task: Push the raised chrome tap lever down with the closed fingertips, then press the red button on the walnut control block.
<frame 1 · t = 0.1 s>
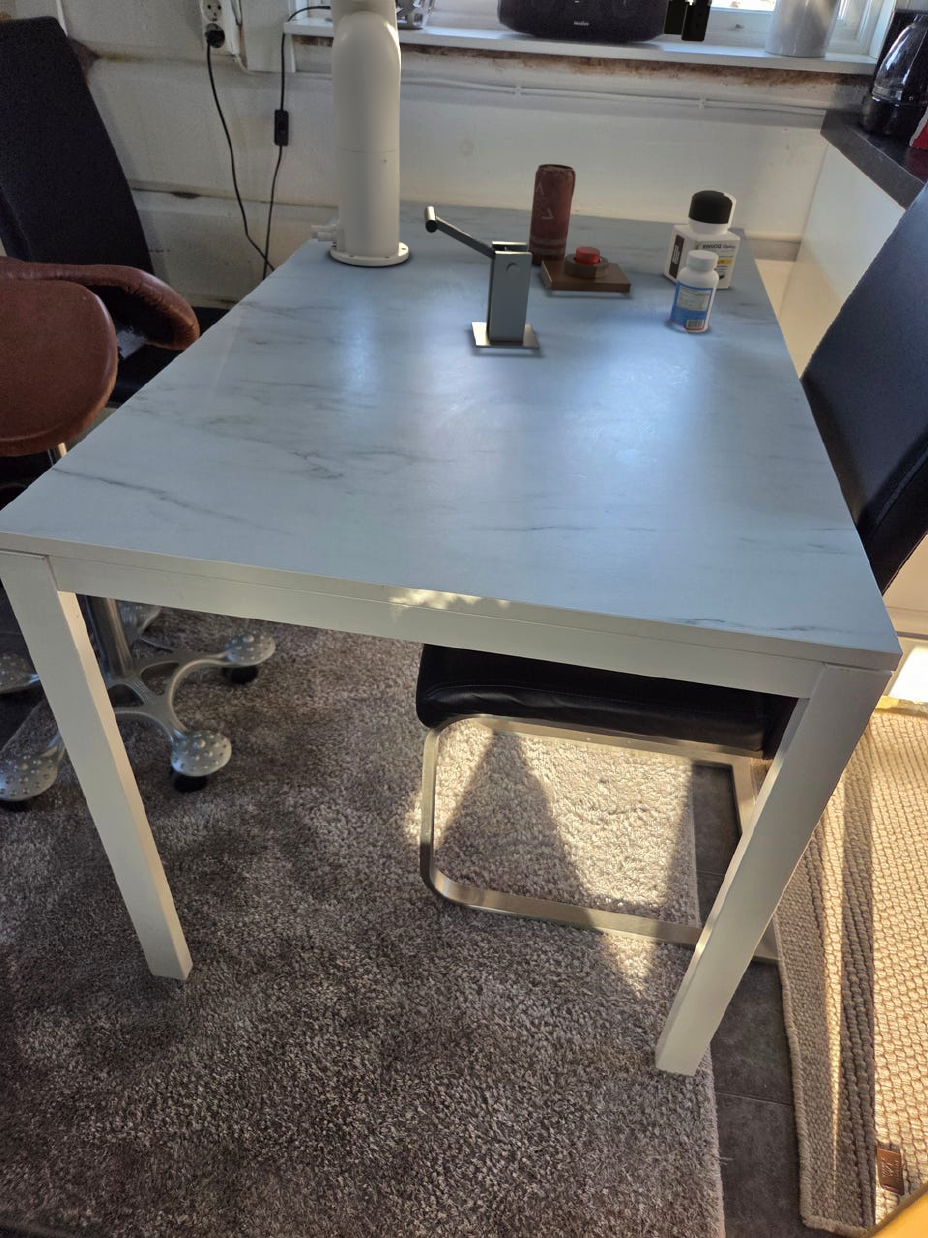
hand: (682, 37, 118), 31 cm above the table, tool pointing down, fingers open, 9 cm apart
container: (695, 283, 133), on the table
tap lever: (473, 243, 100), point 12 cm above the table, hinge at 25.0°
pill bottle: (687, 327, 117), on the table
button block: (583, 286, 128), on the table
button: (587, 255, 125), point 4 cm above the table, slide at 0.1 cm
grey lever stand: (503, 343, 108), on the table
can: (546, 262, 137), on the table
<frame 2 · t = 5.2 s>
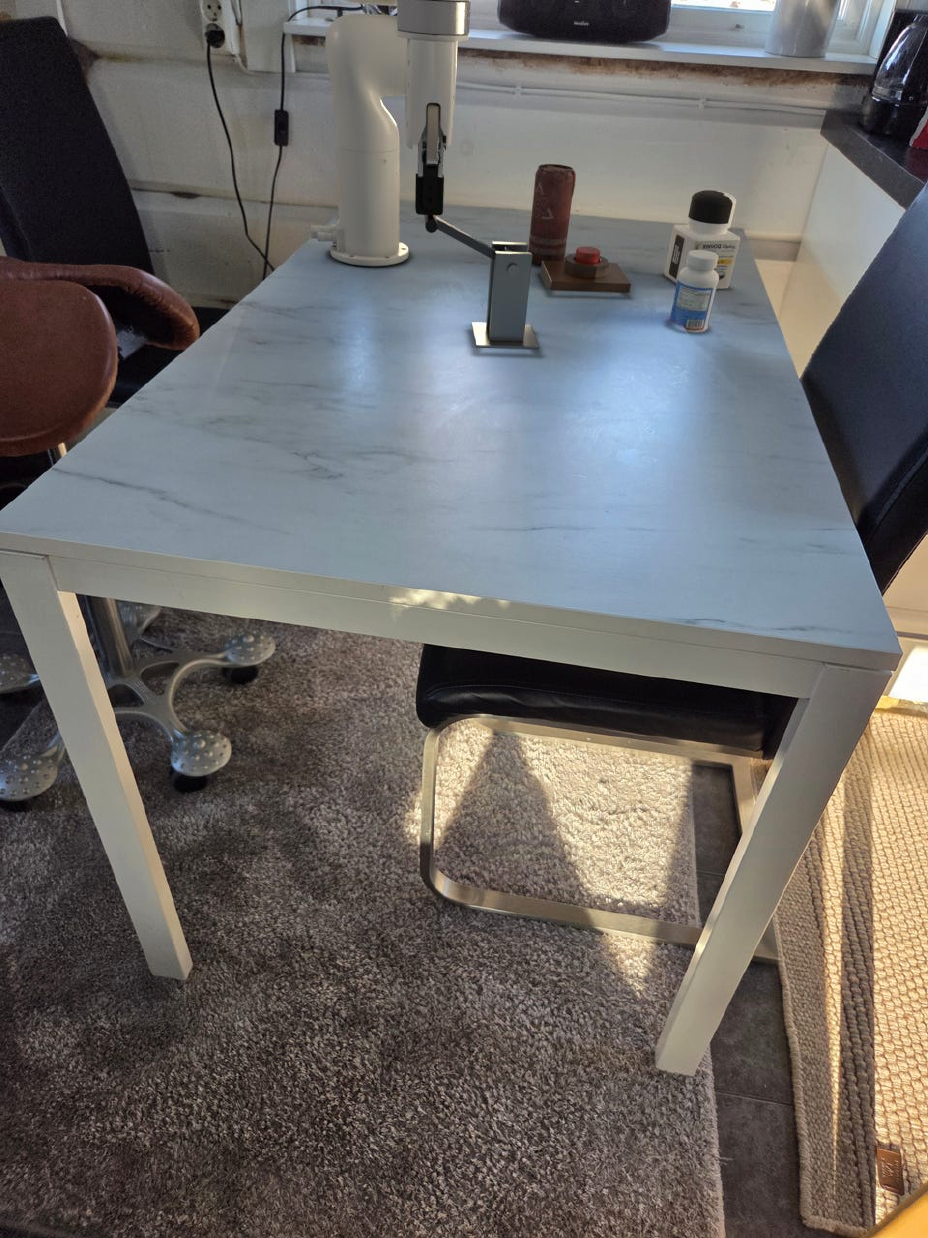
hand: (428, 212, 97), 15 cm above the table, tool pointing down, fingers closed
tap lever: (473, 243, 100), point 12 cm above the table, hinge at 24.9°, touching gripper
everything else where it was.
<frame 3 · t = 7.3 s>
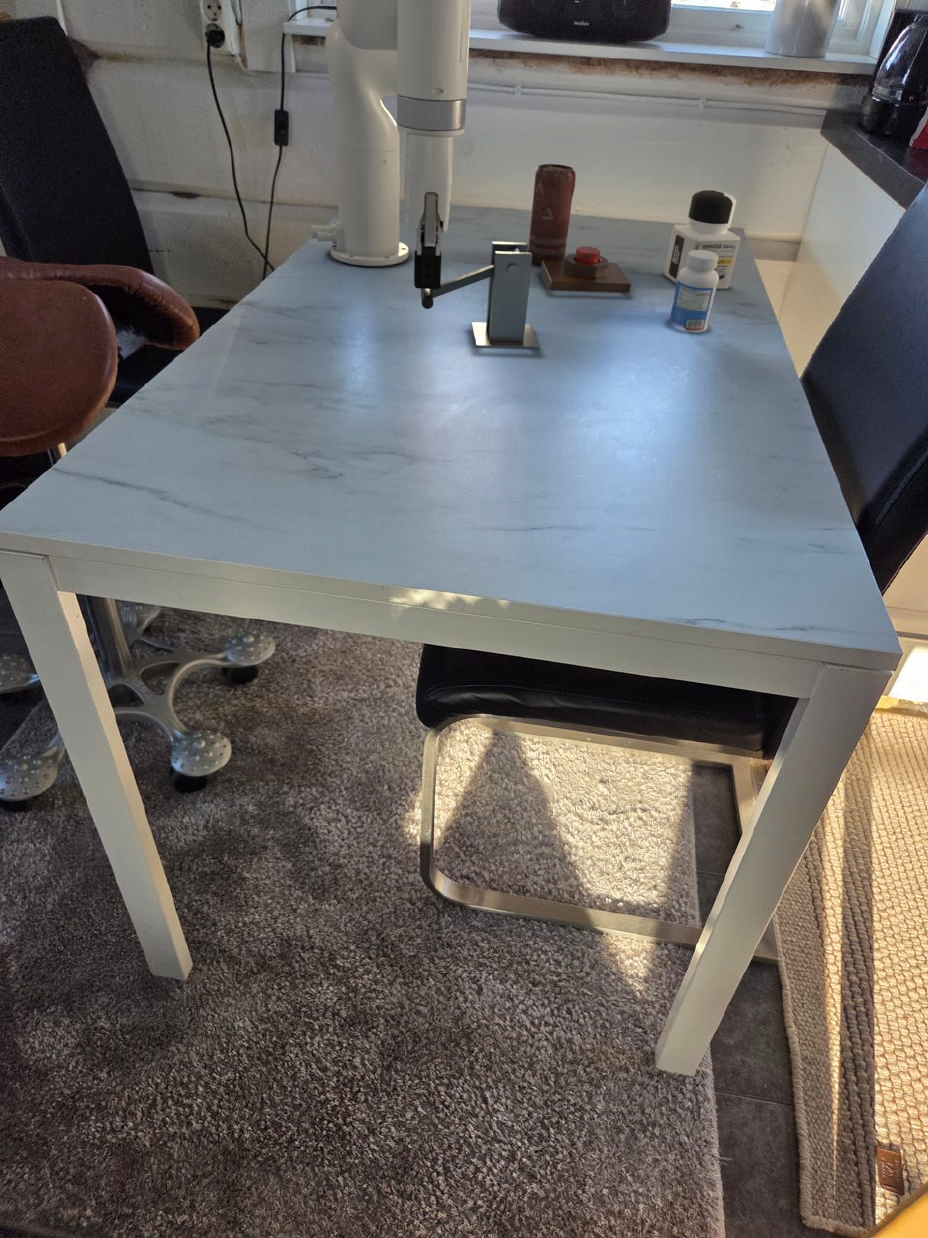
hand: (427, 286, 103), 7 cm above the table, tool pointing down, fingers closed
tap lever: (470, 278, 102), point 8 cm above the table, hinge at -22.0°, touching gripper
everything else where it was.
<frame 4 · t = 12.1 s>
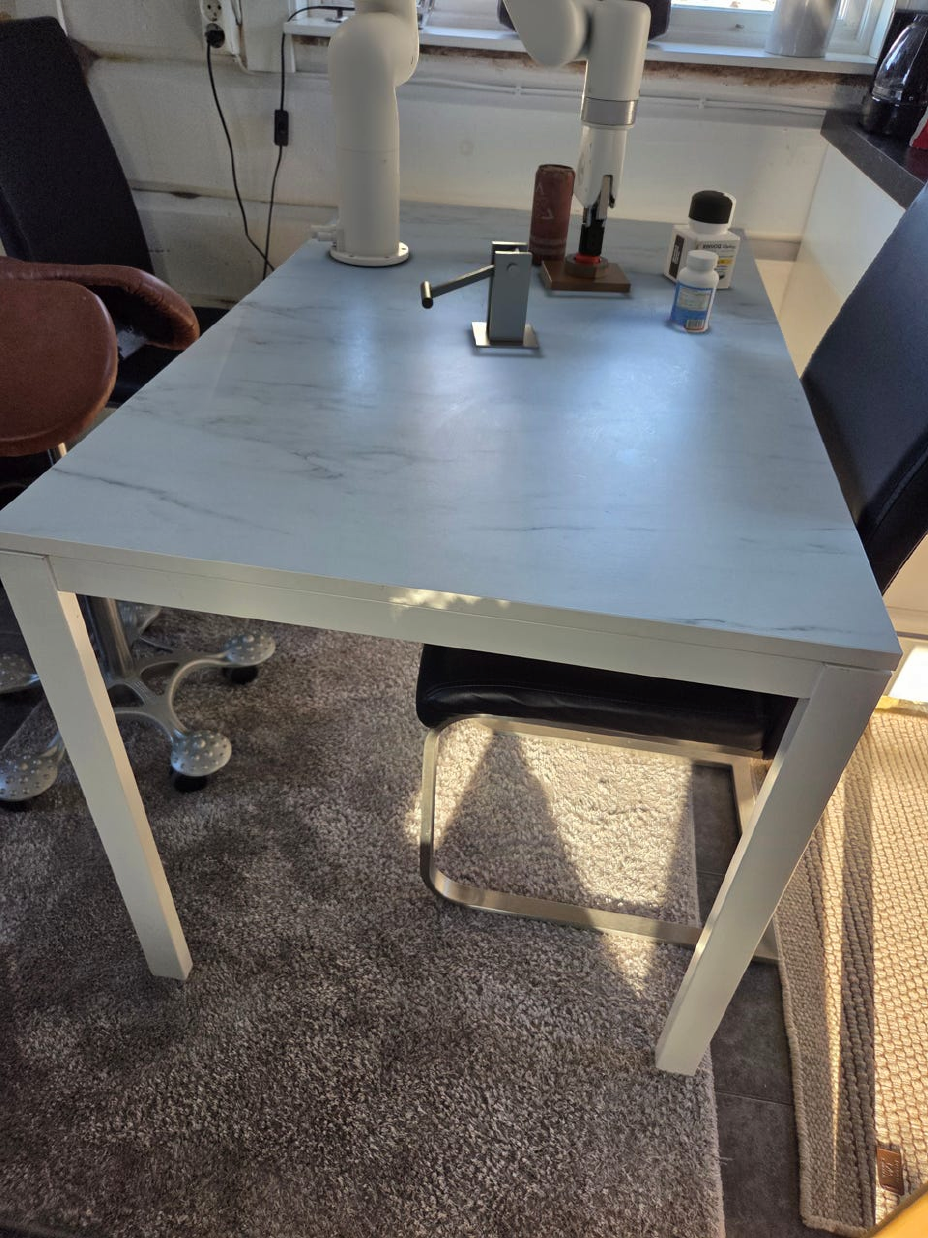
hand: (589, 253, 125), 5 cm above the table, tool pointing down, fingers closed
tap lever: (470, 278, 102), point 8 cm above the table, hinge at -22.0°
button: (587, 259, 125), point 4 cm above the table, slide at -0.5 cm, touching gripper
everything else where it was.
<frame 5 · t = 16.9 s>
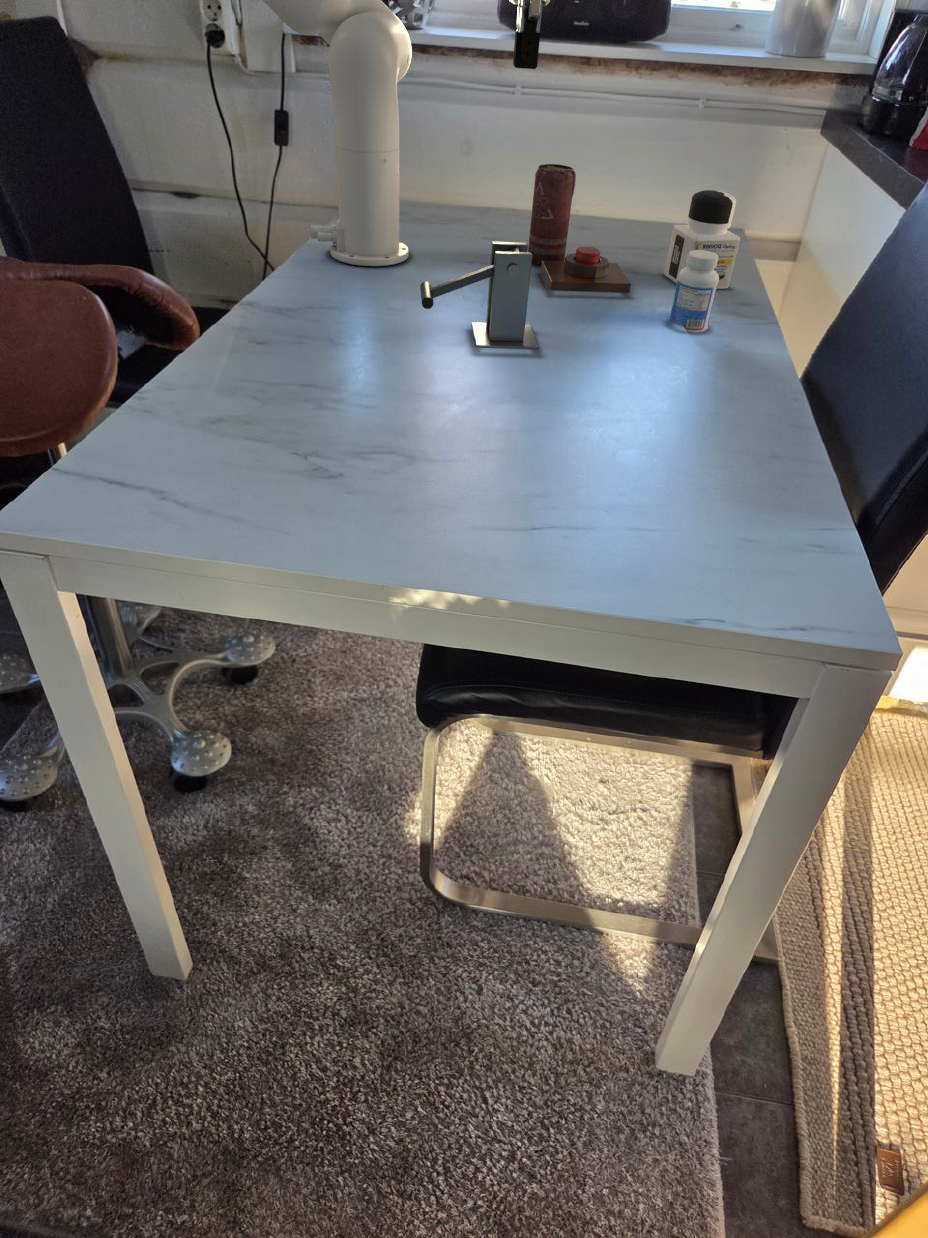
hand: (524, 67, 115), 27 cm above the table, tool pointing down, fingers closed
button: (587, 255, 125), point 4 cm above the table, slide at 0.1 cm
everything else where it was.
at the end: tap lever at -22° (first picture: +25°); button pushed in 1.1 cm at the most during the clip, back to where it started at the end; button slide at 0.1 cm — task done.
